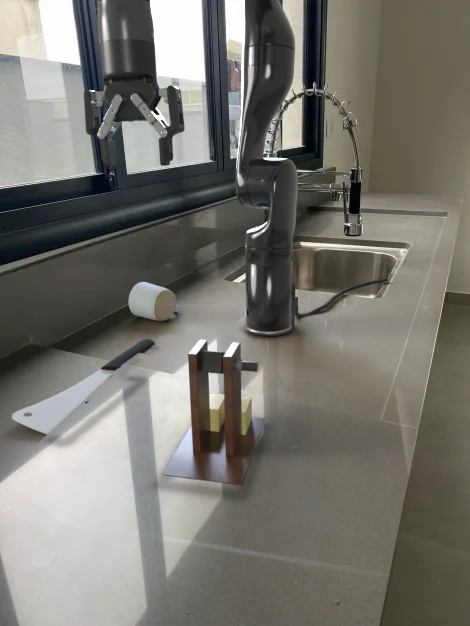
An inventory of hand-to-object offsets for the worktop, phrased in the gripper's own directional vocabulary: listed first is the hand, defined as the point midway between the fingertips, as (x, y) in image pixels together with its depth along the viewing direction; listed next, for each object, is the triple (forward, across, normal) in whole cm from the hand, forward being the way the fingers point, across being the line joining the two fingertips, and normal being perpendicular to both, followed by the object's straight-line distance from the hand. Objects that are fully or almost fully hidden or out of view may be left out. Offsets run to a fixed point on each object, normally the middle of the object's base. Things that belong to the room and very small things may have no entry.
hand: (137, 165), depth 73 cm
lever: (+24, -17, +17) cm, 34 cm away
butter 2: (+32, -18, +16) cm, 40 cm away
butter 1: (+32, -15, +16) cm, 39 cm away
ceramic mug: (+33, +10, -26) cm, 44 cm away
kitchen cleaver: (+33, +5, +6) cm, 34 cm away
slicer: (+33, -17, +21) cm, 42 cm away
